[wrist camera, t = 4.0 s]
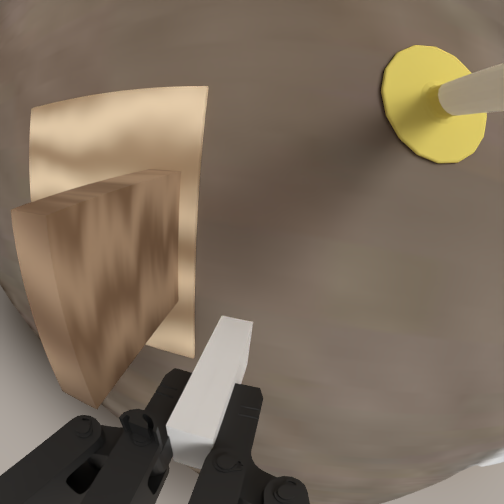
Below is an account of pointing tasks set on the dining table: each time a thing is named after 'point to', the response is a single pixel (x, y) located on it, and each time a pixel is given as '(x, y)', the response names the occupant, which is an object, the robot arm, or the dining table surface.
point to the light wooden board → (129, 166)
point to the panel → (100, 274)
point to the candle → (439, 102)
